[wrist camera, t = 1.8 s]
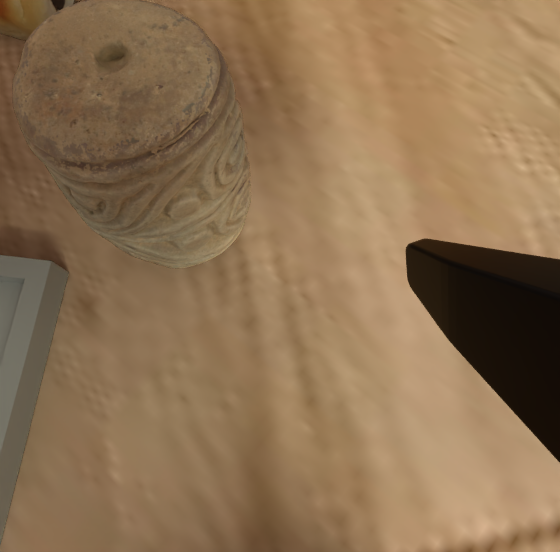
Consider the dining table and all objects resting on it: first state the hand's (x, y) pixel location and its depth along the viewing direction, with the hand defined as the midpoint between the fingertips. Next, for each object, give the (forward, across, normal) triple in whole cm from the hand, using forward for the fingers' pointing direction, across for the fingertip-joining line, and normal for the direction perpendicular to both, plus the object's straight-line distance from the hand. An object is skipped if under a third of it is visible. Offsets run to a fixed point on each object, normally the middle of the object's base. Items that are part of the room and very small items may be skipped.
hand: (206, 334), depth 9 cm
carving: (+16, 0, +4) cm, 16 cm away
